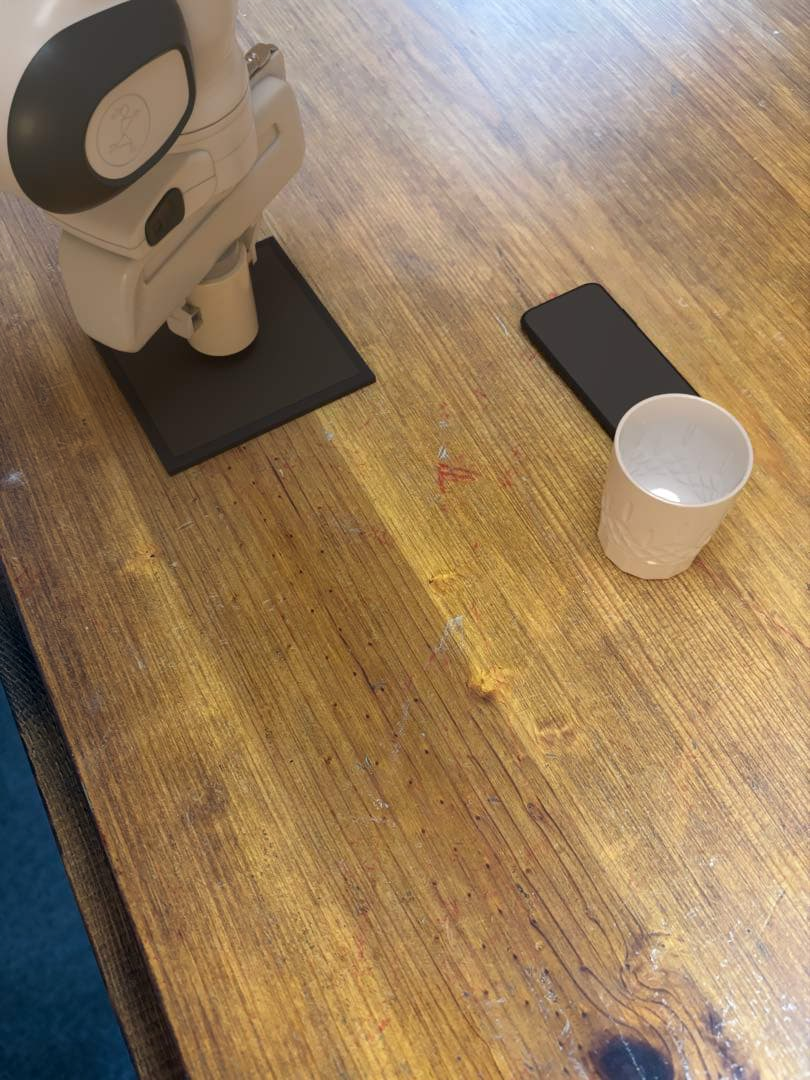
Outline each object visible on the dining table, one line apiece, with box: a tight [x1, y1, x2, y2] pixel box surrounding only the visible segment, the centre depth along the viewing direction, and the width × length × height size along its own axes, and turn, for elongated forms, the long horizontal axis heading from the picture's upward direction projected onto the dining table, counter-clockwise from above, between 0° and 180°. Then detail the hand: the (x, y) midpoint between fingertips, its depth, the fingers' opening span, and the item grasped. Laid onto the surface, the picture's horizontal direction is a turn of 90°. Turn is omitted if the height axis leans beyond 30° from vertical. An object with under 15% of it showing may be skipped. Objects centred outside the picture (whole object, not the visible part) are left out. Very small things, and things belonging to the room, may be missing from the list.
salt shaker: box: [186, 238, 259, 356], centre depth 71 cm, size 5×5×8 cm
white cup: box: [596, 394, 754, 580], centre depth 65 cm, size 8×8×10 cm
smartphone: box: [519, 282, 703, 440], centre depth 76 cm, size 7×1×15 cm
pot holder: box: [89, 235, 377, 477], centre depth 77 cm, size 16×16×1 cm
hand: (214, 297), depth 72 cm, fingers closed on salt shaker, 5 cm apart
